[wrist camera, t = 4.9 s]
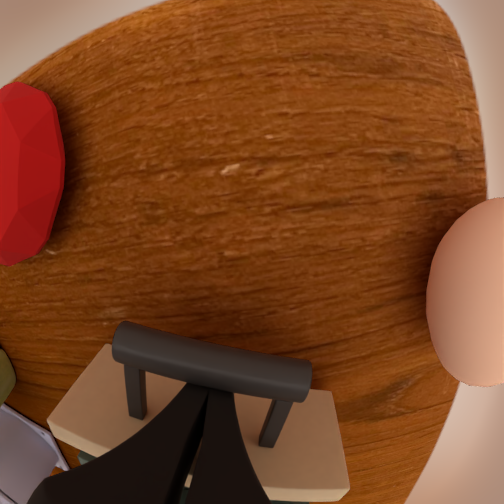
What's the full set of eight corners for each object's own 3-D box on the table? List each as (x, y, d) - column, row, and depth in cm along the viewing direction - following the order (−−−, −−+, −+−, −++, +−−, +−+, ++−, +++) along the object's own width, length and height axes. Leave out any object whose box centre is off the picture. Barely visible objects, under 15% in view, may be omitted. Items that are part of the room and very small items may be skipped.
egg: (612, 231, 3) (540, 413, 6) (528, 195, 10) (496, 333, 12) (488, 207, 5) (415, 433, 8) (420, 179, 11) (397, 334, 14)
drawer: (102, 265, 12) (15, 330, 6) (362, 318, 12) (410, 417, 6) (126, 463, 17) (103, 519, 11) (272, 494, 17) (270, 556, 11)
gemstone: (53, 285, 13) (17, 307, 10) (-28, 211, 12) (-60, 219, 10) (110, 118, 11) (68, 108, 8) (10, 75, 10) (-25, 68, 7)
